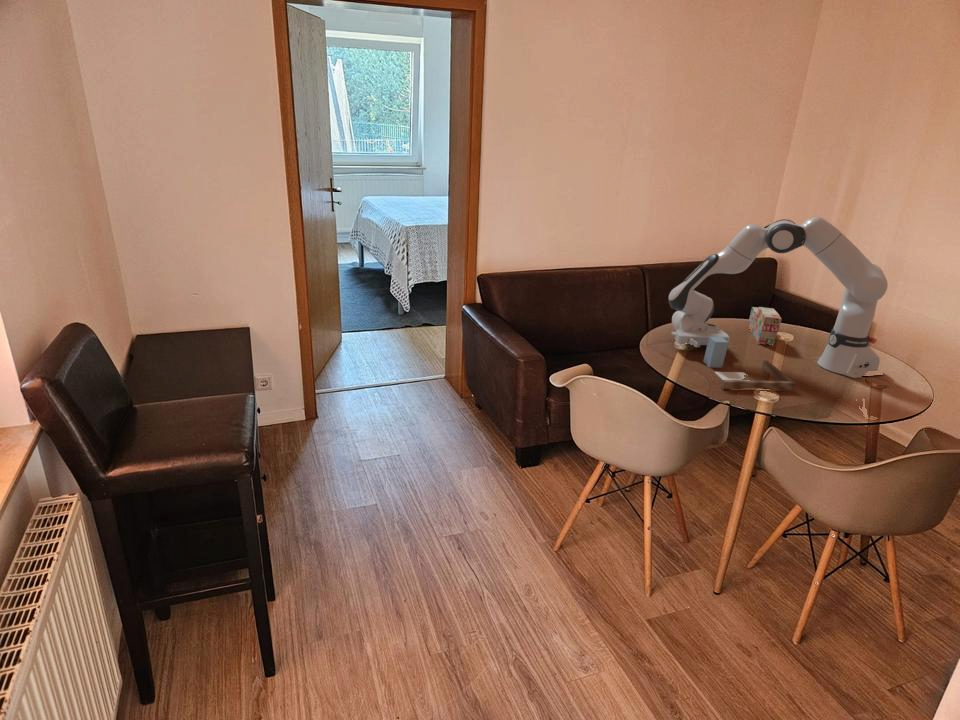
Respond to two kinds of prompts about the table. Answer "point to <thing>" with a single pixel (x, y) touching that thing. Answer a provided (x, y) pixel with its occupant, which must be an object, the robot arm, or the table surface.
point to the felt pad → (731, 375)
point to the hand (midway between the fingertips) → (710, 345)
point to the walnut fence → (780, 385)
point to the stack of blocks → (764, 324)
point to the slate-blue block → (715, 352)
